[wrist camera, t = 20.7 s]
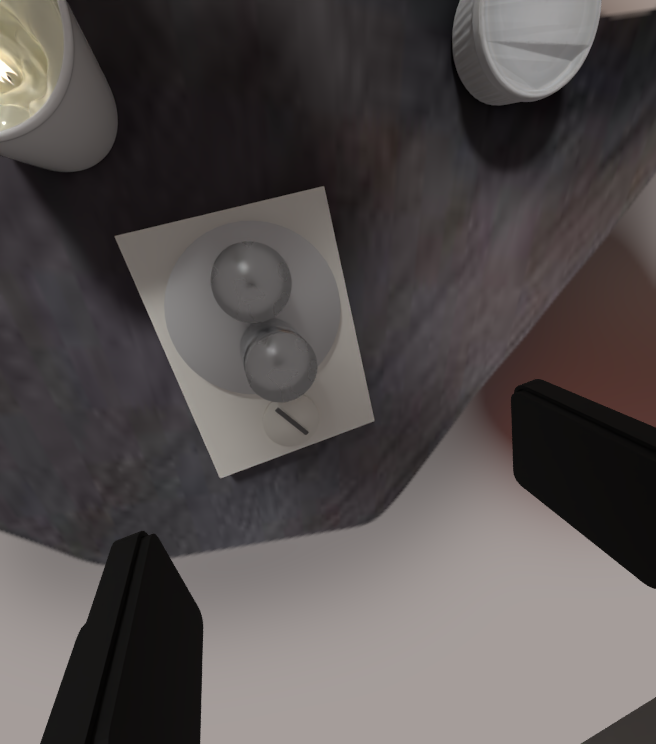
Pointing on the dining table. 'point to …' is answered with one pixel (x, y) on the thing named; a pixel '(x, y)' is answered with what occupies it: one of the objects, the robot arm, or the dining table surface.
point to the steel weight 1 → (250, 282)
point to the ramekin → (521, 46)
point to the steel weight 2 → (277, 361)
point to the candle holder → (51, 89)
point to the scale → (223, 333)
